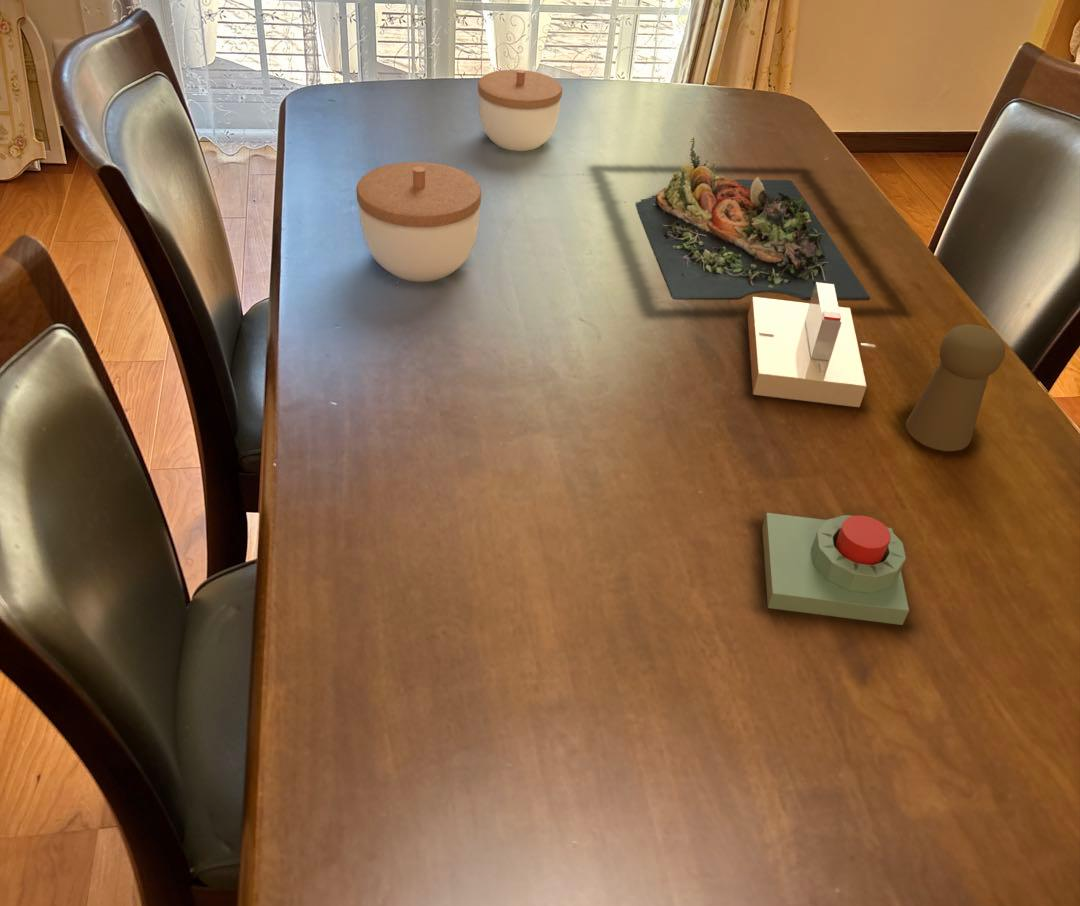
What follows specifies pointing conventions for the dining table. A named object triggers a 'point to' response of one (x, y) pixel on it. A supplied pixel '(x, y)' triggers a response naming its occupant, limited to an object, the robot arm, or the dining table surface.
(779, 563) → the button box
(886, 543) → the button
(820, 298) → the white switch lever
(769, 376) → the switch base
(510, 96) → the trinket box
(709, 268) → the plated dish
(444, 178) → the lidded bowl
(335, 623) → the dining table surface
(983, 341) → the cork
